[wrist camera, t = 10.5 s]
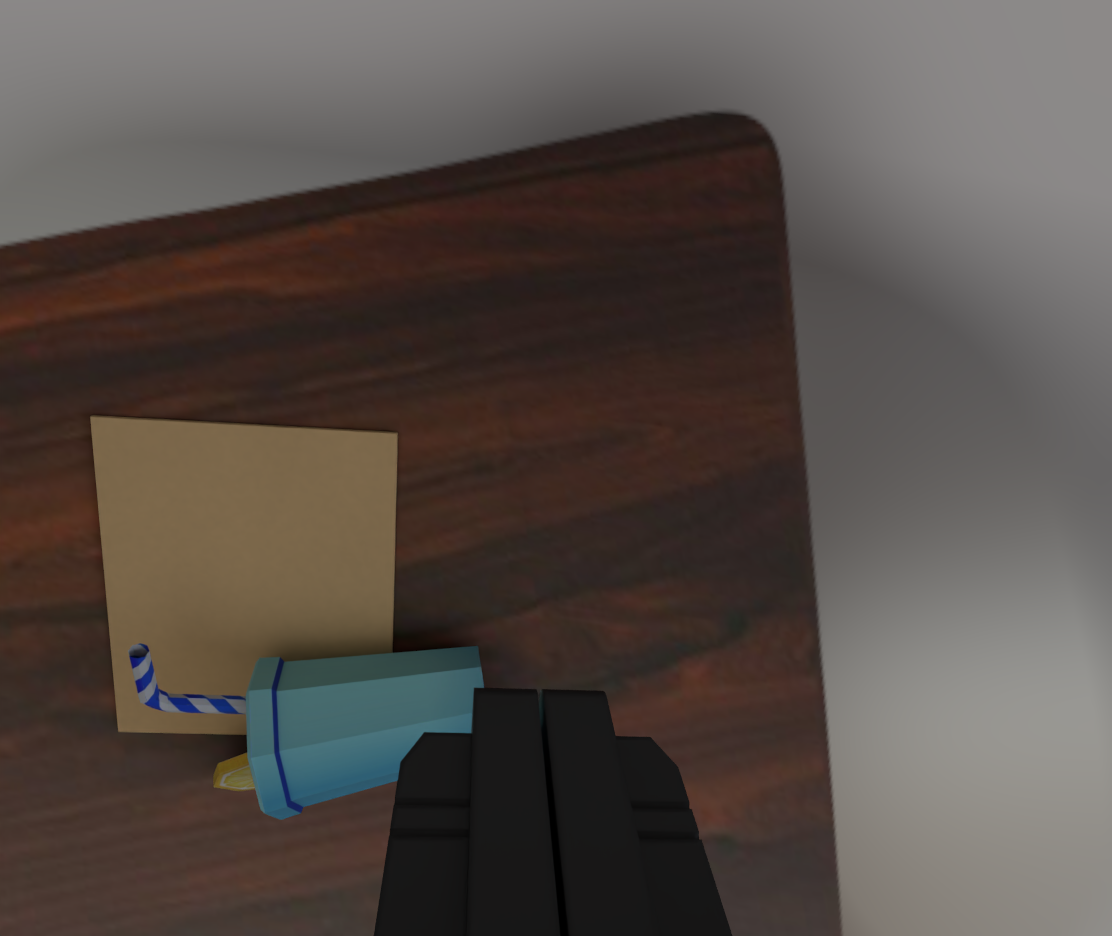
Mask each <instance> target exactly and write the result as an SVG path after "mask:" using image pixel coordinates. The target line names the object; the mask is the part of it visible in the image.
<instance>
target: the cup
mask: <svg viewBox="0 0 1112 936" xmlns="http://www.w3.org/2000/svg"><path fill="white" fill-rule="evenodd" d="M128 653H129V658H130V662H131V666H132V671H133V675H134V679H135V684H136V688H137V693H138V697H139V700H140V703H143V704H145V705H147V706H149V707H151V708H154V709H157V710H161V711H165V712H176V713H215V714H246V723H247V753H244V754H242V755H239V756H236V757H234V758H231V759H228V760H226V761H223V762H220V763H218V765H217V768H216V770H215V773H214V775H213V780H214V787H217V788H223V789H229V790H235V791H245V790H252V789H256V793H257V797H258V801H259V805H260V809H261V810H262V811H263V812H264V813H265V814H268V815H270V816H273V817H275V818H278V819H280V820H281V819H284V818H288V817H291V816H294V815H297V814H300V813H301V812H302V809H303V807H305V806H309V805H312V804H316V803H319V802H323V801H326V800H330V799H333V798H337V797H341V796H344V795H348V794H351V793H355V792H358V791H362V790H366V789H369V788H373V787H376V786H380V785H383V784H387V783H390V782H394V781H398V775H399V768H400V762H401V761H402V759H403V758H404V757H405V756H406V754H407V753H408V752H409V751H410V749H411V748H412V747H413V746H414V744H415V743H416V742H417V741H418V739H419V738H420V737H421V736H422V734H423V733H424V732H442V733H471V726H472V708H473V692H474V688H484V683H483V676H482V669H481V663H480V657H479V651H478V646H471V647H459V648H447V649H434V650H422V651H410V652H398V653H386V654H374V655H361V656H349V657H337V658H325V659H313V660H300V661H288V662H284V661H283V659H282V658H281V657H266V658H259V659H258V660H257V662H256V664H255V667H254V670H253V673H252V676H251V679H250V683H249V686H248V689H247V692H246V696H231V695H200V694H170V693H167V692H165V691H162V690H160V689H158V685H157V680H156V676H155V672H154V668H153V664H152V659H151V655H150V651H149V648H148V646H147V645H145V644H142V643H139V644H136V645H132V646H131V648H130V649H129V650H128Z"/></svg>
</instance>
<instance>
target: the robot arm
mask: <svg viewBox="0 0 1112 936" xmlns="http://www.w3.org/2000/svg"><path fill="white" fill-rule="evenodd" d="M374 936H732V934H731V930H730V927H729V924H728V921H727V918H726V915H725V912H724V909H723V906H722V902H721V899H720V896H719V893H718V890H717V887H716V884H715V881H714V878H713V874H712V871H711V868H710V865H709V862H708V859H707V856H706V853H705V850H704V846H703V843H702V840H699V831H698V828H697V825H696V822H695V818H694V815H693V812H692V809H689V800H688V797H687V794H686V790H685V787H684V784H683V781H682V778H681V775H680V772H679V769H678V767H677V765H676V764H675V763H674V762H673V761H672V760H671V759H670V758H669V757H668V756H667V755H666V754H665V752H664V751H663V750H662V749H661V748H660V747H659V746H658V745H657V744H656V743H655V742H654V741H653V739H652V738H651V737H625V736H615V732H614V727H613V723H612V718H611V714H610V710H609V705H608V701H607V697H606V694H605V692H604V691H585V690H550V689H542V690H541V692H540V697H539V702H538V693H537V690H536V689H506V688H474V692H473V708H472V726H471V733H442V732H424V733H423V734H422V736H421V737H420V738H419V739H418V741H417V742H416V743H415V744H414V746H413V747H412V748H411V749H410V751H409V752H408V753H407V754H406V756H405V757H404V758H403V759H402V761H401V762H400V768H399V775H398V782H397V788H396V795H395V805H394V808H393V814H392V821H391V827H390V836H389V840H388V847H387V853H386V860H385V866H384V873H383V879H382V886H381V893H380V899H379V906H378V912H377V919H376V925H375V932H374Z"/></svg>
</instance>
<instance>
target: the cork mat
mask: <svg viewBox="0 0 1112 936" xmlns="http://www.w3.org/2000/svg"><path fill="white" fill-rule="evenodd" d="M90 420H91V431H92V442H93V454H94V465H95V476H96V487H97V498H98V510H99V521H100V532H101V543H102V555H103V566H104V577H105V588H106V599H107V611H108V622H109V633H110V644H111V655H112V667H113V678H114V689H115V700H116V712H117V723H118V732H144V733H188V734H232V735H247V723H246V714H215V713H176V712H165V711H161V710H157V709H154V708H151V707H149V706H147V705H145V704H143V703H140V700H139V697H138V693H137V688H136V684H135V679H134V675H133V671H132V666H131V662H130V658H129V653H128V650H129V649H130V648H131V646H132V645H136V644H139V643H142V644H145V645H147V646H148V648H149V651H150V655H151V659H152V664H153V668H154V672H155V676H156V680H157V685H158V689H160V690H162V691H165V692H167V693H170V694H200V695H231V696H246V692H247V689H248V686H249V683H250V679H251V676H252V673H253V670H254V667H255V664H256V662H257V660H258V659H259V658H266V657H281V658H282V659H283V661H284V662H288V661H300V660H313V659H325V658H337V657H349V656H361V655H374V654H386V653H393V620H394V578H395V536H396V494H397V452H398V432H386V431H368V430H350V429H332V428H314V427H296V426H278V425H260V424H242V423H224V422H206V421H188V420H170V419H152V418H134V417H116V416H98V415H92V416H91V417H90Z"/></svg>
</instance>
